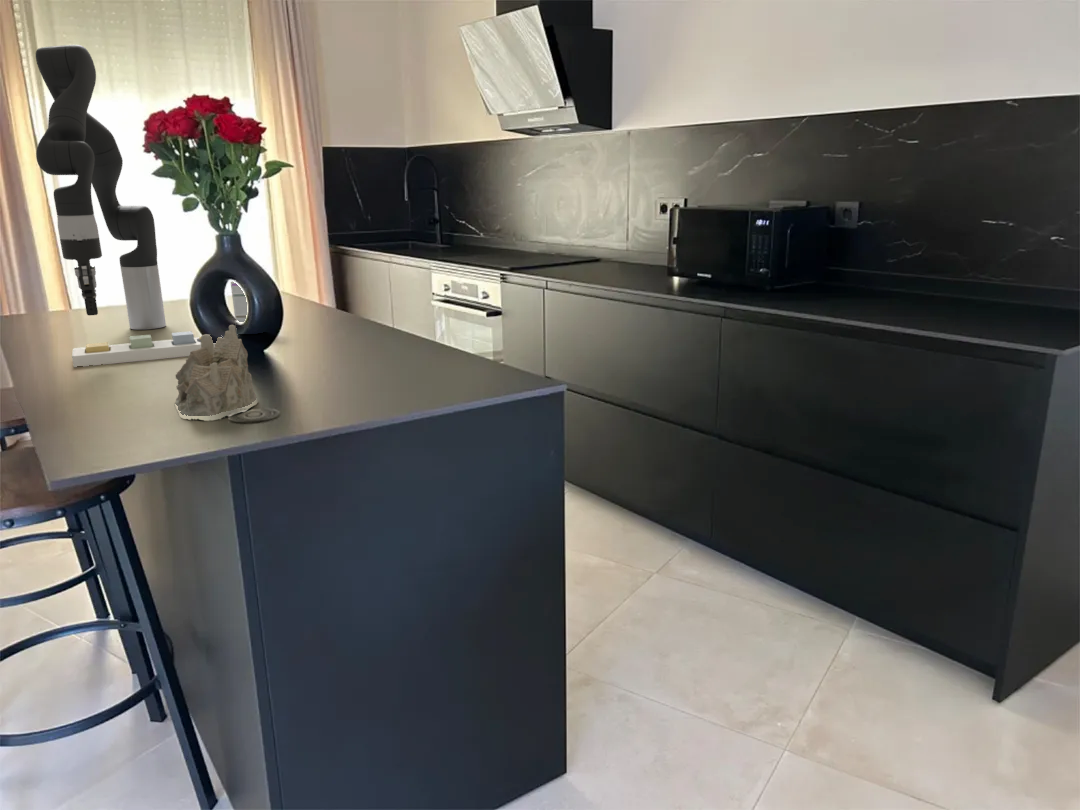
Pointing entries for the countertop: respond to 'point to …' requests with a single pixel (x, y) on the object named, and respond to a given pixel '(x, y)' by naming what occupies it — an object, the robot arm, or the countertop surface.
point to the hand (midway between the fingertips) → (92, 314)
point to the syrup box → (239, 302)
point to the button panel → (134, 353)
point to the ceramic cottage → (215, 377)
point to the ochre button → (97, 347)
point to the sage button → (141, 341)
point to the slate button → (183, 338)
